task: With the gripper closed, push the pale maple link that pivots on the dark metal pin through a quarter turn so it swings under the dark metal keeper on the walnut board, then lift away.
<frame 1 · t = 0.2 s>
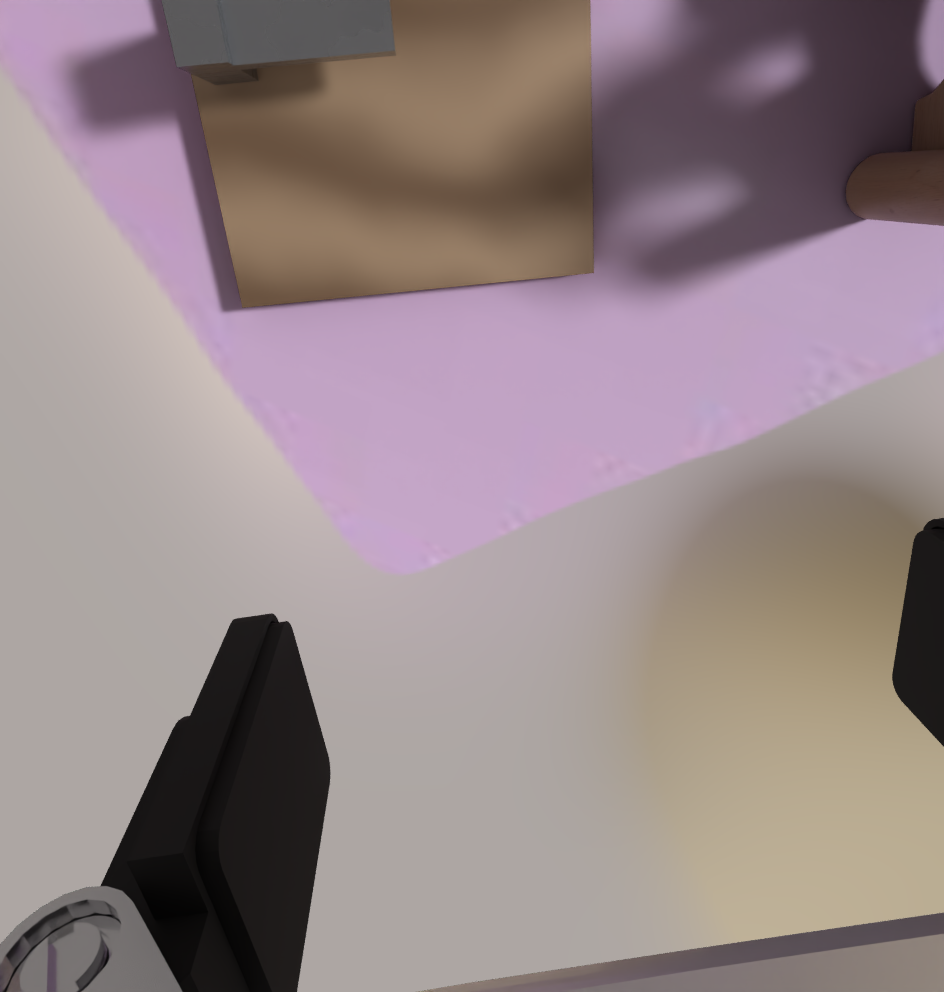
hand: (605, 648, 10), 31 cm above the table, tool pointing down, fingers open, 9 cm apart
wooden toy: (912, 47, 35), on the table, touching stacking bear
keeper: (311, 43, 33), resting on base board
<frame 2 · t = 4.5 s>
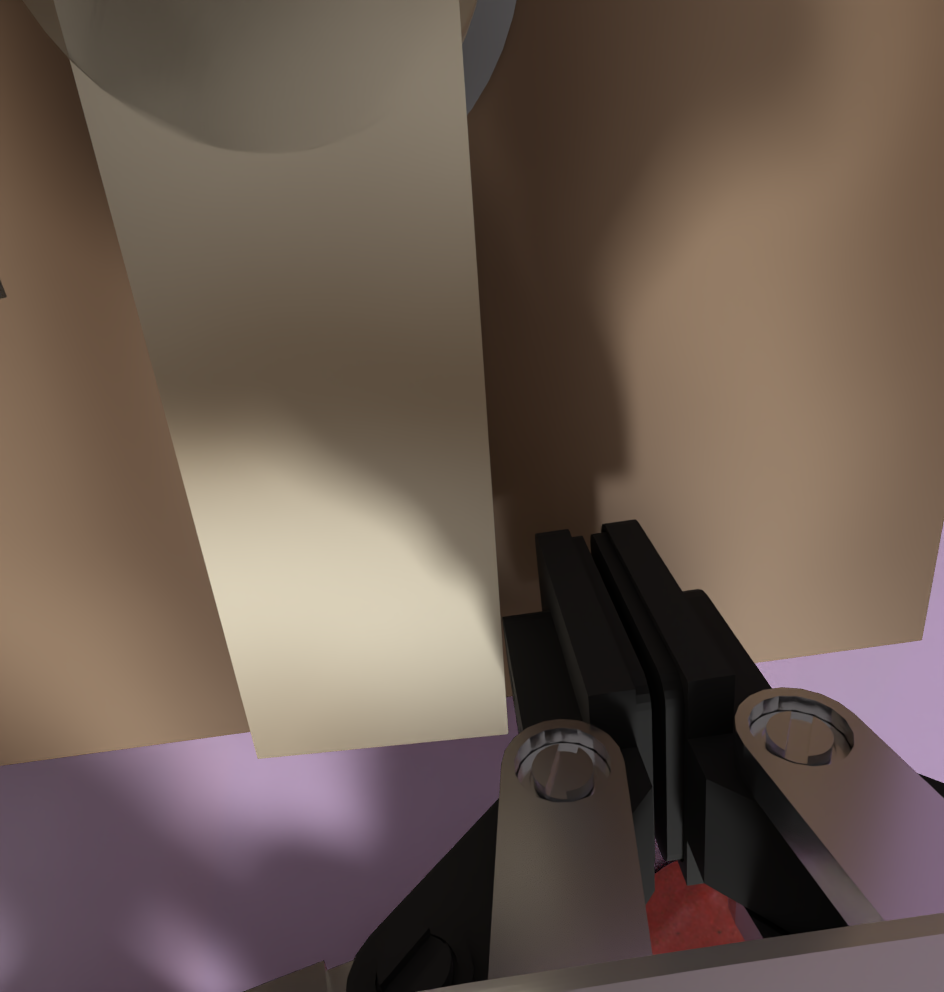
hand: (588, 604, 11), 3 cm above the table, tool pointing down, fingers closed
base board: (168, 236, 11), on the table
stacking bear: (607, 977, 21), on the table, touching wooden toy
link: (308, 320, 8), point 4 cm above the table, hinge at 87.2°, touching gripper
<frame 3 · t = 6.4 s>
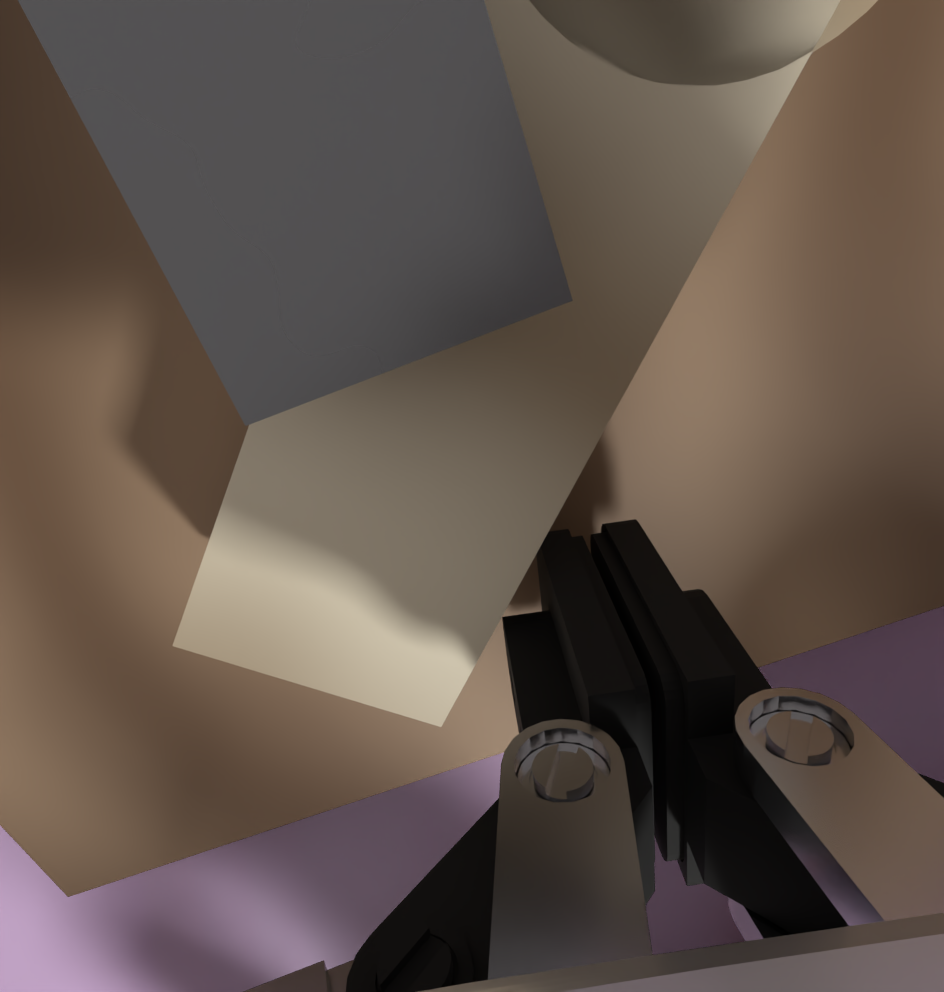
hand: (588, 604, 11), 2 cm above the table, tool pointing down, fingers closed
base board: (490, 229, 11), on the table
keeper: (305, 6, 10), resting on base board
link: (523, 229, 7), point 4 cm above the table, hinge at 45.2°, touching gripper
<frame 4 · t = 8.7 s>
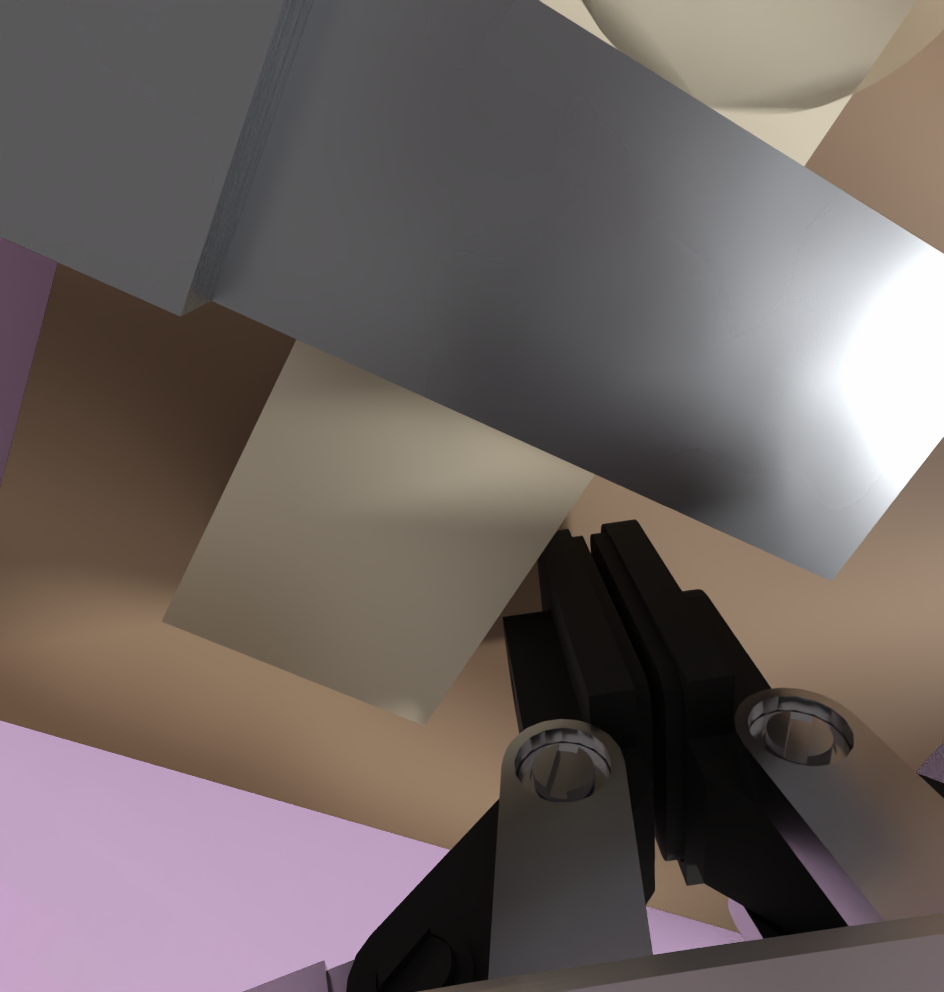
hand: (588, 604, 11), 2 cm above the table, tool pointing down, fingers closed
base board: (728, 249, 12), on the table
keeper: (493, 231, 11), resting on base board
link: (560, 235, 7), point 4 cm above the table, hinge at -3.9°, touching gripper
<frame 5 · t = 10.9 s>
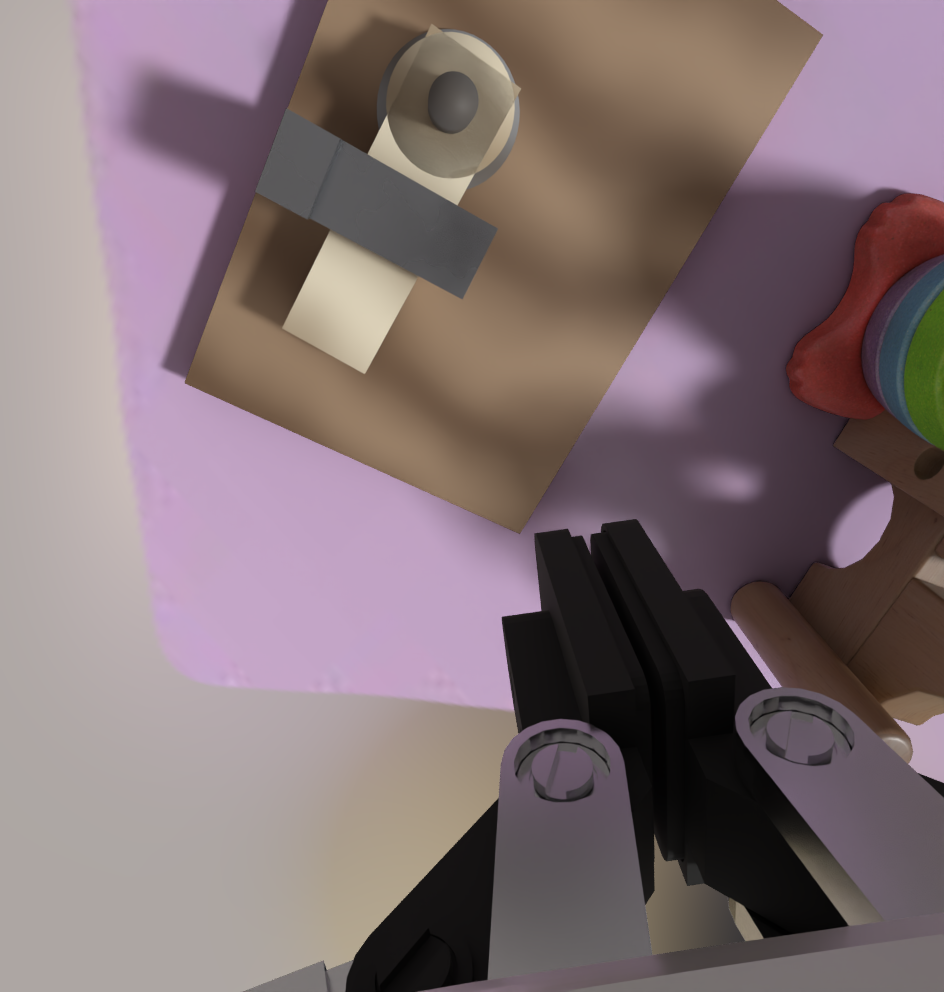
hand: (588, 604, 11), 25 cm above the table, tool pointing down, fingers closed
base board: (480, 219, 32), on the table
wooden toy: (831, 524, 41), on the table, touching stacking bear
stacking bear: (902, 324, 36), on the table, touching wooden toy
keeper: (393, 209, 32), resting on base board
link: (397, 209, 28), point 4 cm above the table, hinge at -3.3°
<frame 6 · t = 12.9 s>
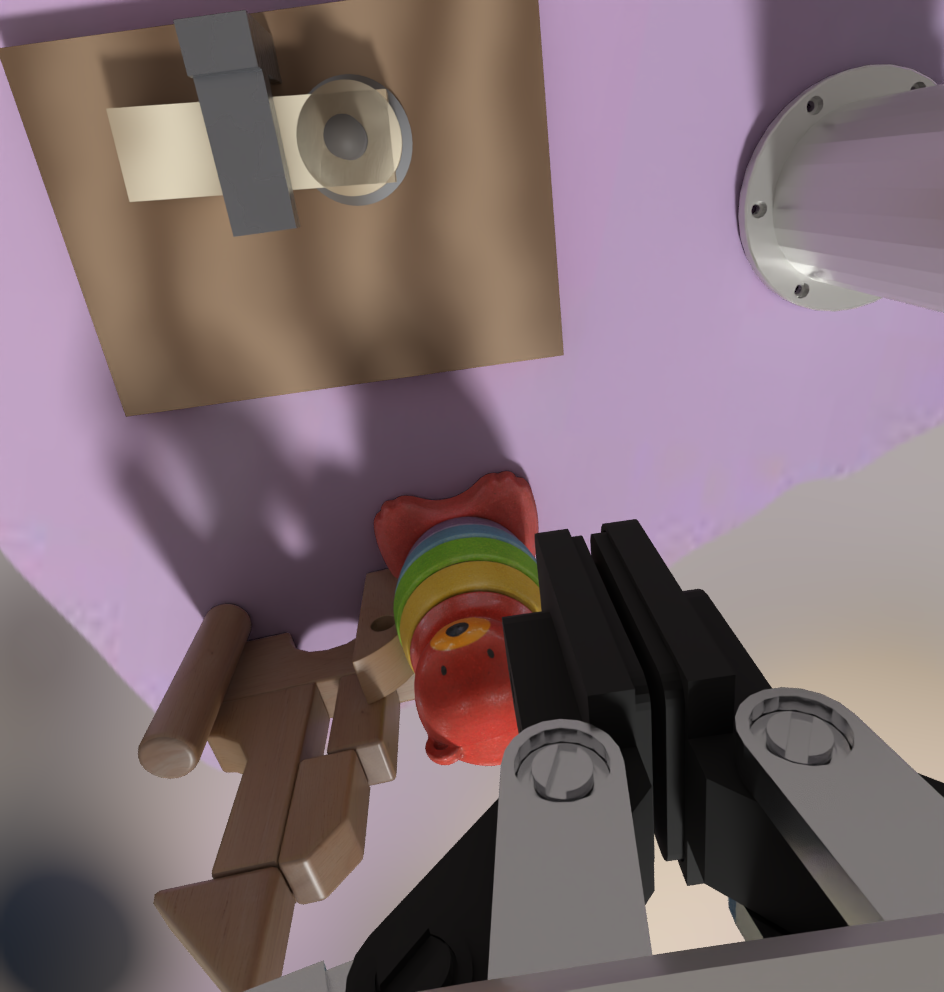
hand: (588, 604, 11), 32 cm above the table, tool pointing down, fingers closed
base board: (314, 216, 38), on the table
wooden toy: (321, 620, 49), on the table, touching stacking bear
stacking bear: (463, 547, 48), on the table, touching wooden toy
keeper: (270, 145, 37), resting on base board
link: (259, 145, 33), point 4 cm above the table, hinge at -3.3°
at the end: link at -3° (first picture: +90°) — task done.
